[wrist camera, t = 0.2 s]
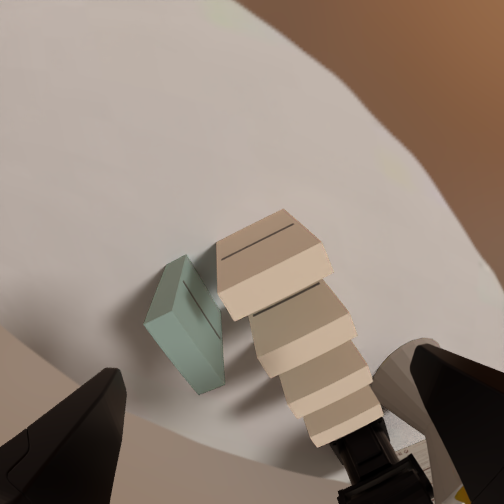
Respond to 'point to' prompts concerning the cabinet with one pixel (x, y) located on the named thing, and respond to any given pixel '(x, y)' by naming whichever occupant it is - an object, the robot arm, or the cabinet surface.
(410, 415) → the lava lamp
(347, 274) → the cabinet surface
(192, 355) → the domino
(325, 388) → the domino
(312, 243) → the domino
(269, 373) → the domino
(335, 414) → the end domino
